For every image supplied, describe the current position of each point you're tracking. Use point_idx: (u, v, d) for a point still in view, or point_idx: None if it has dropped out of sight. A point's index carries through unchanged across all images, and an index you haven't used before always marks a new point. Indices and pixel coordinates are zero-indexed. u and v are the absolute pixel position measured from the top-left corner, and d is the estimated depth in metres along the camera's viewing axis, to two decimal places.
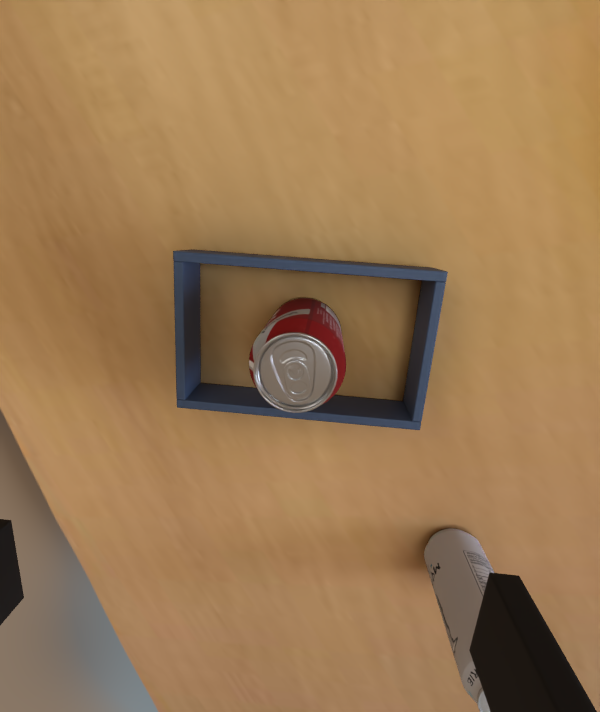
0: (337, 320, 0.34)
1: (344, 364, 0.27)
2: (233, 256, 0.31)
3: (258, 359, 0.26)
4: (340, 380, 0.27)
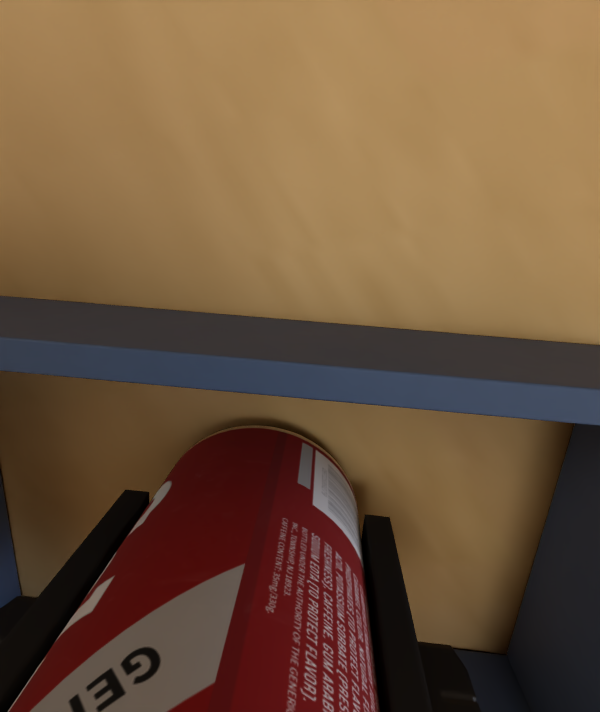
0: (349, 506, 0.12)
1: None
2: None
3: None
4: None
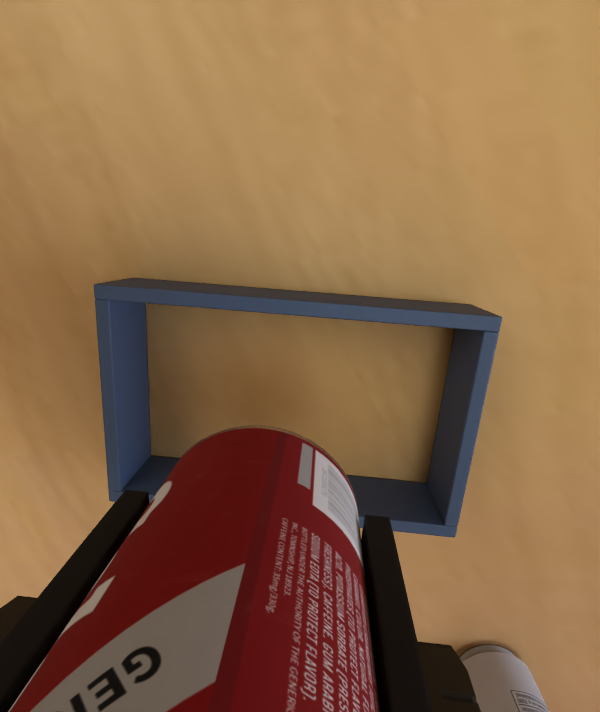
0: (348, 506, 0.12)
1: None
2: (182, 292, 0.21)
3: None
4: None
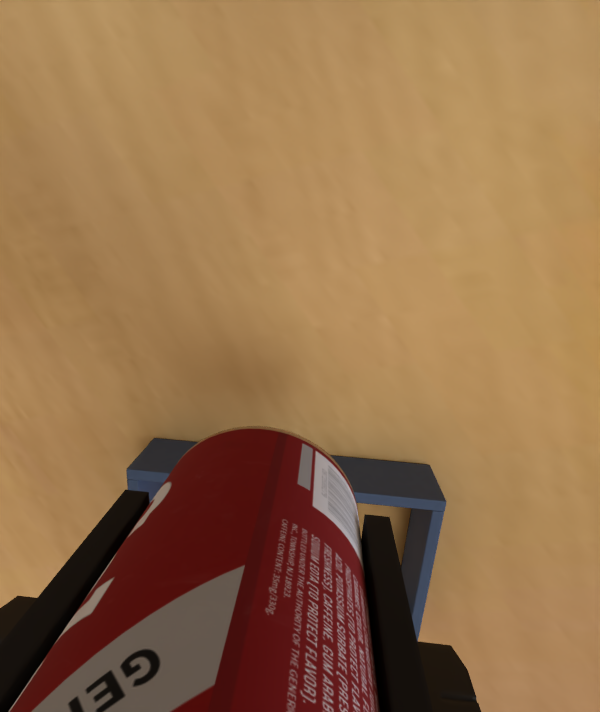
0: (349, 507, 0.12)
1: None
2: None
3: None
4: None
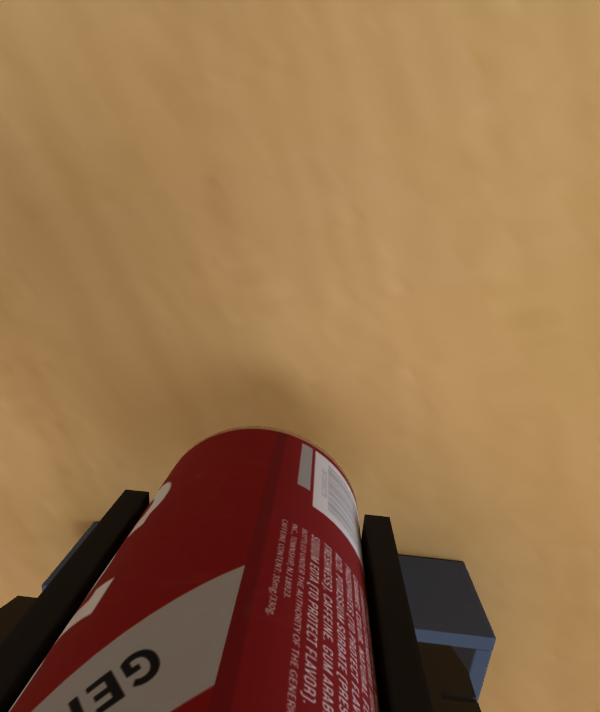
0: (348, 507, 0.12)
1: None
2: None
3: None
4: None
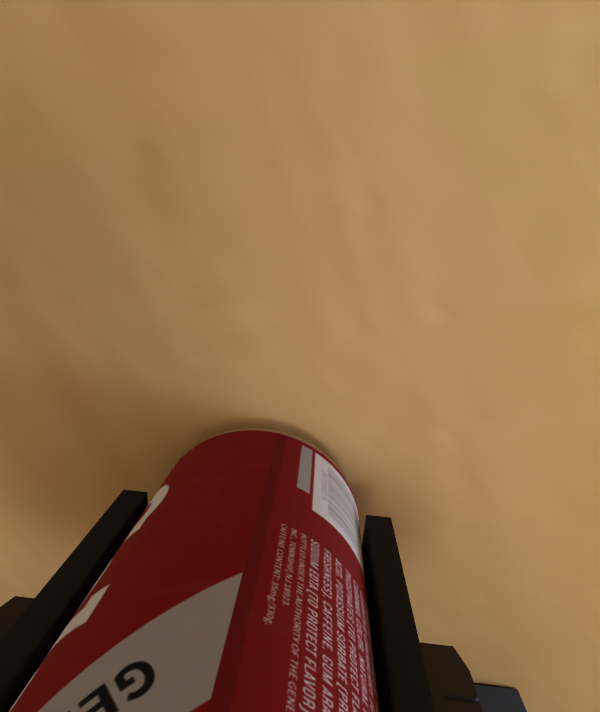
0: (349, 510, 0.11)
1: None
2: None
3: None
4: None
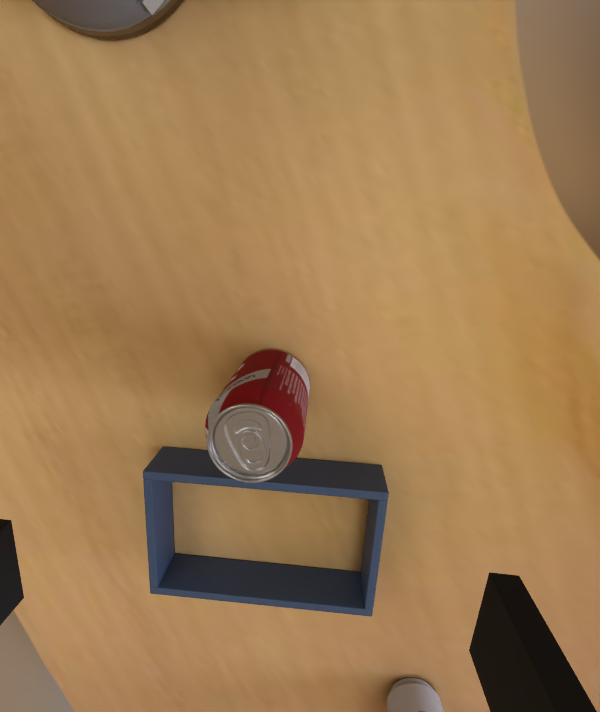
0: (303, 373, 0.34)
1: (301, 431, 0.26)
2: (196, 476, 0.35)
3: (211, 430, 0.25)
4: (298, 447, 0.26)
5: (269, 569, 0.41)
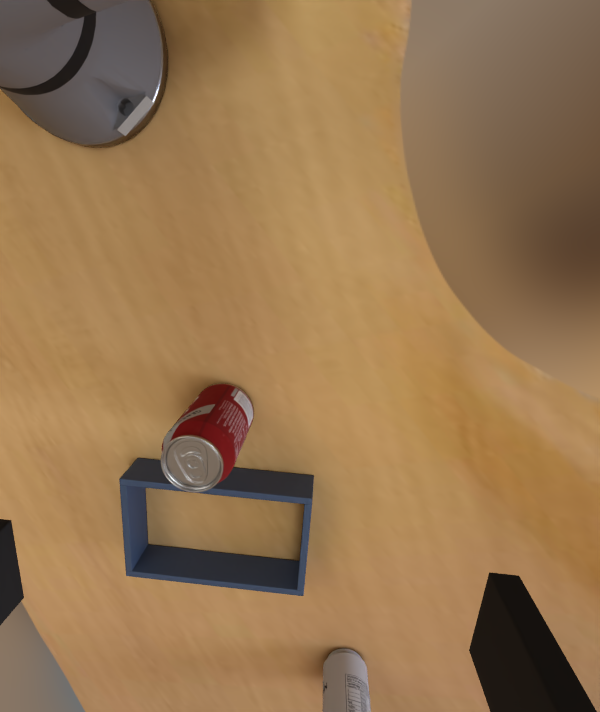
0: (246, 404, 0.43)
1: (233, 454, 0.35)
2: (162, 483, 0.44)
3: (164, 453, 0.34)
4: (230, 466, 0.35)
5: (224, 557, 0.50)
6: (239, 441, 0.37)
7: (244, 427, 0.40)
